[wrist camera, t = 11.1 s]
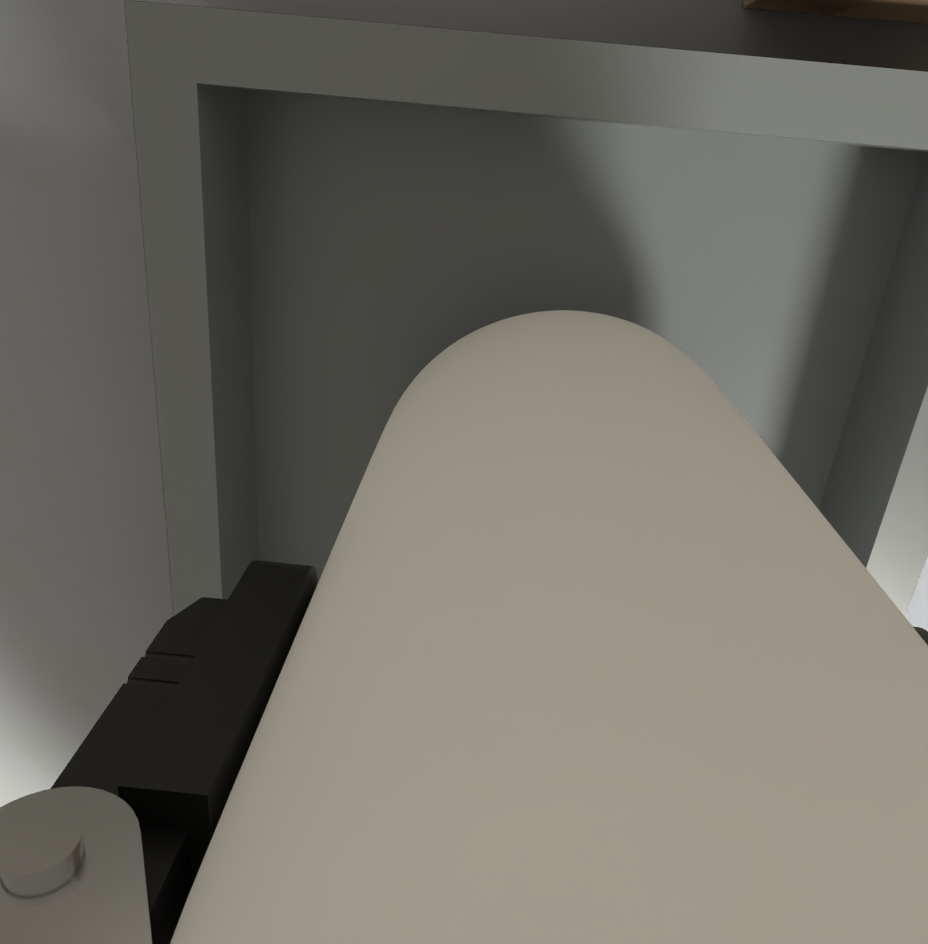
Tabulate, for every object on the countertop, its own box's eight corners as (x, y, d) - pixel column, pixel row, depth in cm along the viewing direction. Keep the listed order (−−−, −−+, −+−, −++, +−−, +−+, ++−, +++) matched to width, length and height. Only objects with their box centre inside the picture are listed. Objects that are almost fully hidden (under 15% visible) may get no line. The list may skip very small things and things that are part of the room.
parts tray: (984, 94, 14) (1101, 87, 11) (786, 716, 20) (831, 812, 17) (198, 24, 14) (124, 0, 11) (228, 660, 20) (183, 745, 17)
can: (307, 473, 15) (-323, 1541, 4) (570, 217, 12) (1013, 874, 2) (543, 682, 16) (613, 1857, 5) (810, 487, 14) (1869, 1751, 3)
